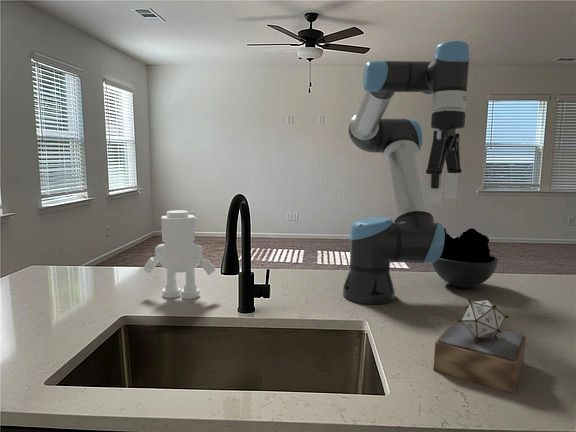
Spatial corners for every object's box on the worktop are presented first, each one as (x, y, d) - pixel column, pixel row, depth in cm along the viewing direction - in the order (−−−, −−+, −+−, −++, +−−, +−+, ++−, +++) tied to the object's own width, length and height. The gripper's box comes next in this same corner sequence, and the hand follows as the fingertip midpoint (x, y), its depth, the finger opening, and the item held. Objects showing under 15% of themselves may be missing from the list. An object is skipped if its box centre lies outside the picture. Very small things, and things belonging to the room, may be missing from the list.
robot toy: (221, 291, 130) (220, 210, 127) (210, 303, 119) (209, 215, 115) (152, 288, 132) (150, 208, 129) (135, 300, 121) (132, 213, 118)
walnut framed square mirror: (433, 370, 83) (435, 340, 82) (452, 344, 94) (453, 318, 93) (514, 393, 75) (517, 361, 74) (523, 362, 86) (526, 334, 85)
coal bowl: (505, 286, 138) (509, 229, 136) (480, 300, 124) (485, 237, 122) (446, 274, 152) (449, 222, 150) (417, 285, 138) (420, 228, 136)
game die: (490, 359, 82) (518, 332, 76) (448, 340, 84) (473, 312, 77) (491, 324, 89) (517, 296, 82) (452, 307, 90) (475, 279, 83)
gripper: (451, 104, 89) (444, 206, 91) (476, 115, 109) (470, 197, 112) (415, 106, 93) (410, 203, 96) (446, 116, 113) (441, 196, 116)
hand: (443, 200), depth 104 cm, fingers open, 13 cm apart
